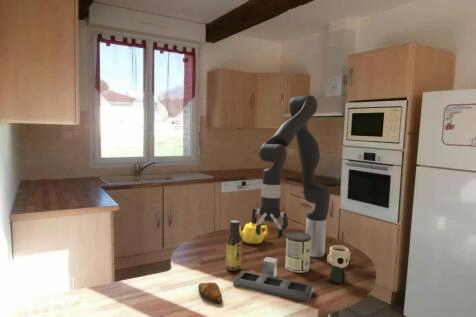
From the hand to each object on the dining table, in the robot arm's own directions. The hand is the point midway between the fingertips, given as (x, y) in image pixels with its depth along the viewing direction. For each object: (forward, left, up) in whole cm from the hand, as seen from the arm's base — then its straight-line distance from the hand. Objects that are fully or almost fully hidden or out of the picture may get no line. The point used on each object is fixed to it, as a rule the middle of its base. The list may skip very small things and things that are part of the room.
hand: (269, 236), depth 131 cm
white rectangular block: (0, +1, -16) cm, 16 cm away
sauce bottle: (-1, -15, -17) cm, 23 cm away
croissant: (+24, -13, -17) cm, 32 cm away
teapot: (-37, -20, -17) cm, 46 cm away
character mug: (-9, +26, -17) cm, 32 cm away
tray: (+9, +5, -16) cm, 19 cm away
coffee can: (-14, +9, -17) cm, 24 cm away
